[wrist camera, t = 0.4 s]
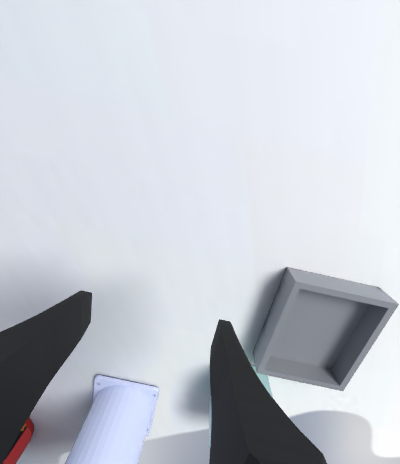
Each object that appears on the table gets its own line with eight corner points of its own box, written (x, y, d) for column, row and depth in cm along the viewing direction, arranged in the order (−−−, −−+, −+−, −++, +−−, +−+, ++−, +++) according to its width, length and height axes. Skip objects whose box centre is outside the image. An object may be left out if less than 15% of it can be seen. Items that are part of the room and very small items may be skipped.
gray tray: (379, 287, 22) (398, 304, 20) (331, 369, 26) (343, 391, 24) (287, 267, 22) (295, 281, 20) (252, 352, 26) (256, 372, 24)
